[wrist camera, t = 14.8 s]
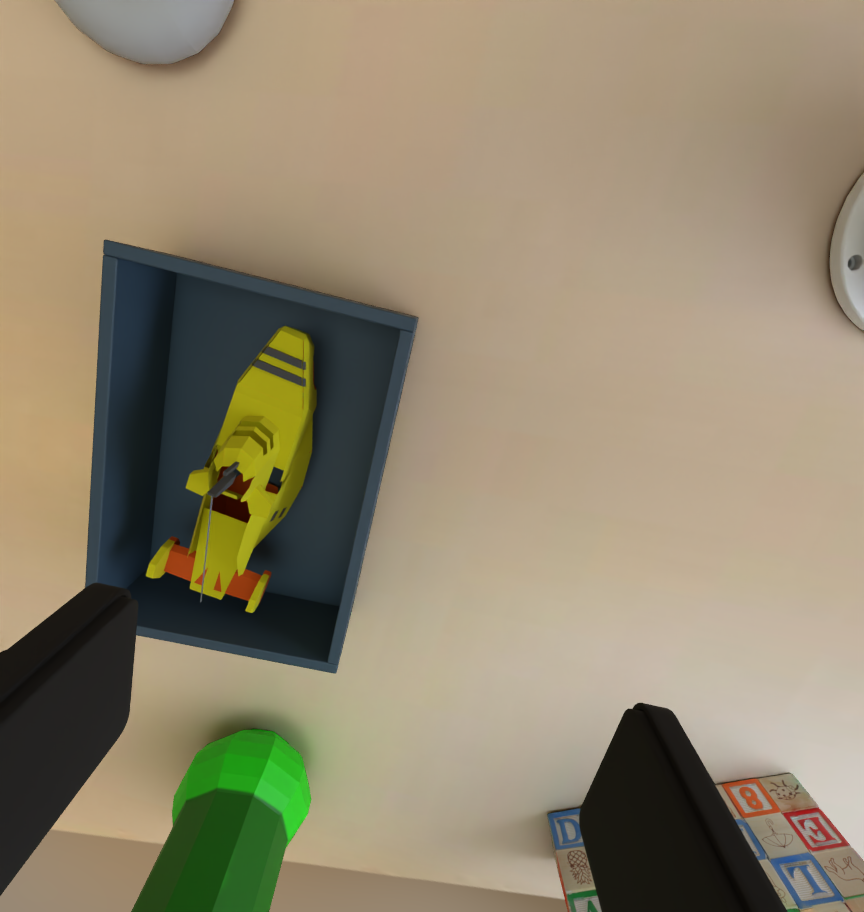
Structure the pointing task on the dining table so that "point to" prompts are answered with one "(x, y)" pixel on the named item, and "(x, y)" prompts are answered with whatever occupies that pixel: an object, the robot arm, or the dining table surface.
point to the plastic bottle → (230, 827)
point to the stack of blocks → (770, 837)
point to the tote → (196, 430)
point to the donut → (149, 26)
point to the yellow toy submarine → (249, 472)
